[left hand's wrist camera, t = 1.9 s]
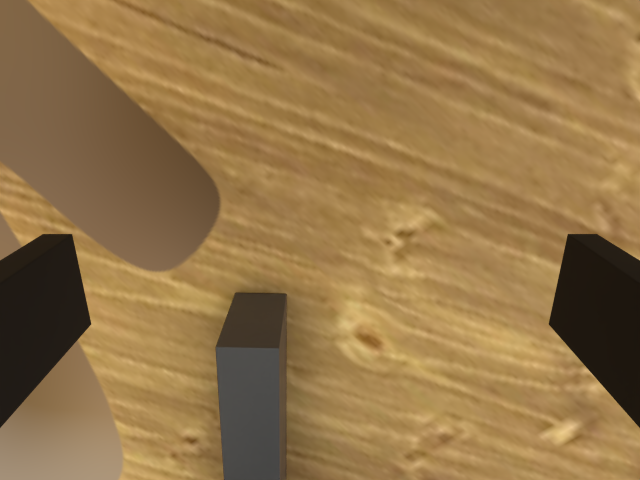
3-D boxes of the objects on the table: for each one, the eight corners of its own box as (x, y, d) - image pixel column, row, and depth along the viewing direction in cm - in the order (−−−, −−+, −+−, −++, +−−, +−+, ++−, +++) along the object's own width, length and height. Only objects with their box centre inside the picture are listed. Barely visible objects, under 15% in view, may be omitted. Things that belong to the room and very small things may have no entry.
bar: (235, 292, 40) (215, 347, 32) (286, 293, 40) (279, 348, 32) (244, 510, 50) (231, 594, 42) (286, 511, 50) (280, 594, 42)
